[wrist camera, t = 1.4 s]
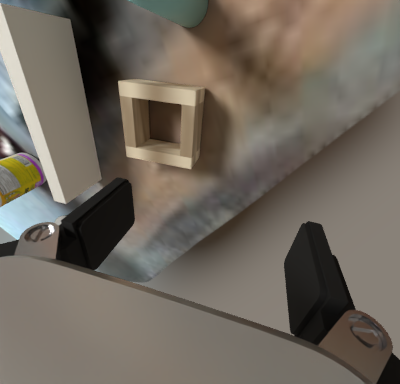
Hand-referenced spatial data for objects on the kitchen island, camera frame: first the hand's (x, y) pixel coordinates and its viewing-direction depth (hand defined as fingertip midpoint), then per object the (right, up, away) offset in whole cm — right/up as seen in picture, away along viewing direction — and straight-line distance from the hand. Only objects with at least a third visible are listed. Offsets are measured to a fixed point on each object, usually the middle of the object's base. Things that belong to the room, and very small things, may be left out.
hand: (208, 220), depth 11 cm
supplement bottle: (-32, +6, +29) cm, 44 cm away
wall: (-18, +13, +20) cm, 30 cm away
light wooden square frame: (-4, +11, +17) cm, 21 cm away
